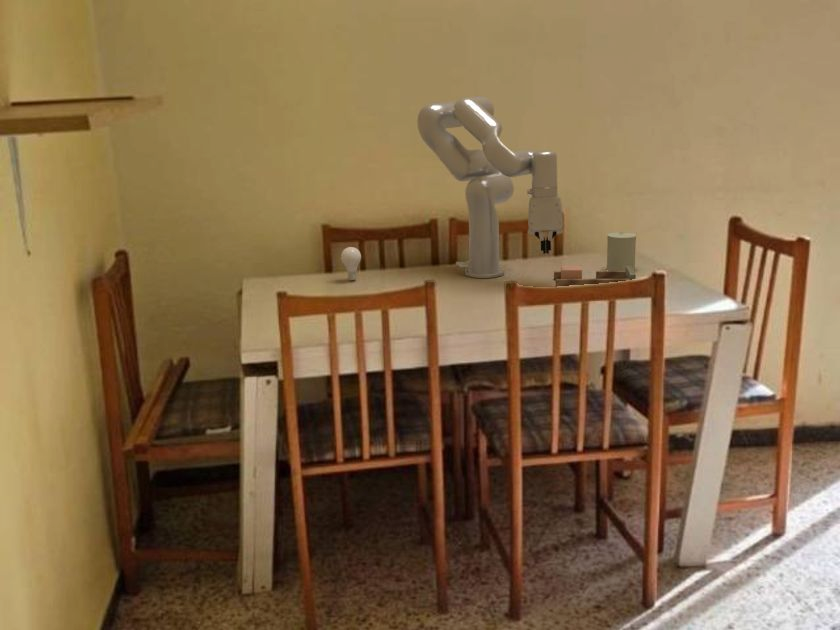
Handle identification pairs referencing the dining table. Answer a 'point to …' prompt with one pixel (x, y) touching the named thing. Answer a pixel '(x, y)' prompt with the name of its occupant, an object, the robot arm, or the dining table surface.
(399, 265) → the dining table surface
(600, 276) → the channel
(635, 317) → the dining table surface
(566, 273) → the block
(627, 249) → the can
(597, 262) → the dining table surface
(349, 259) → the lightbulb
